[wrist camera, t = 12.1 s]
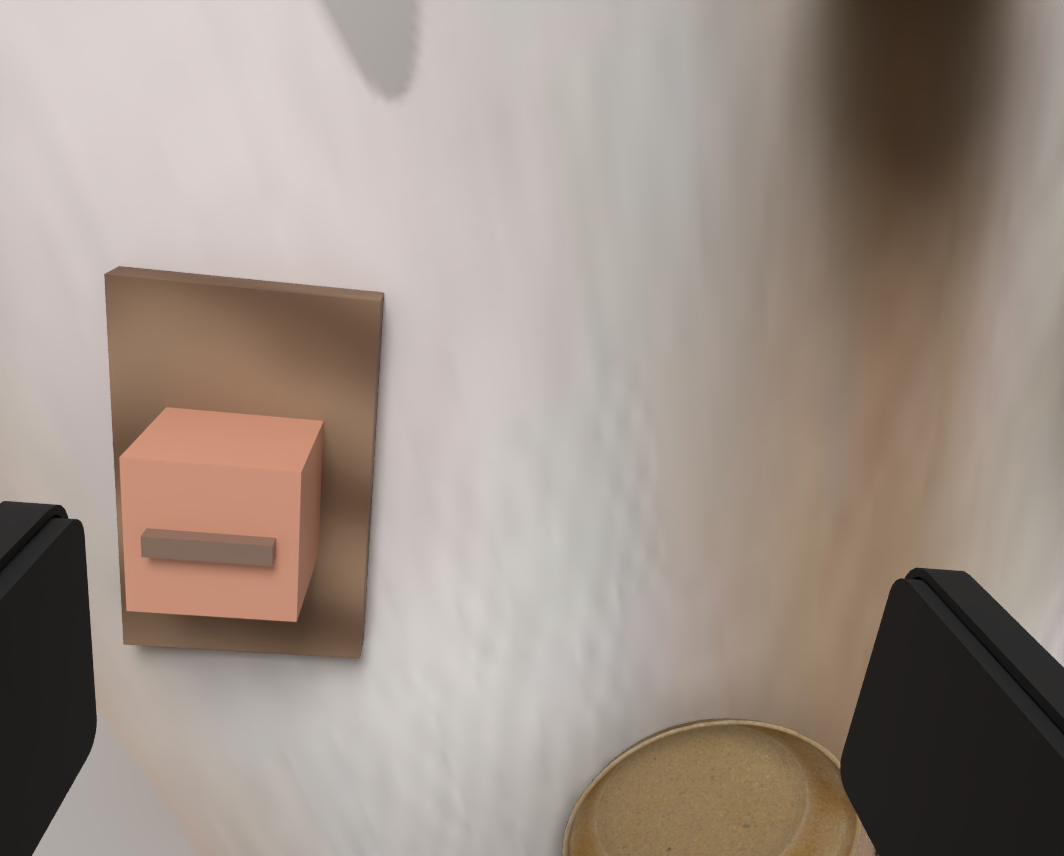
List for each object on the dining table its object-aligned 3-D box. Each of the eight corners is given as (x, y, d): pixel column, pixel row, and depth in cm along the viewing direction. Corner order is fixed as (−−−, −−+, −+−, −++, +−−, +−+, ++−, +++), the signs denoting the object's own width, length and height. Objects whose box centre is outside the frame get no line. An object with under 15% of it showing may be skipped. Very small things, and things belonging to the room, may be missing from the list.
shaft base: (363, 638, 41) (349, 710, 36) (135, 624, 40) (91, 696, 35) (383, 292, 35) (370, 324, 31) (119, 266, 34) (63, 295, 30)
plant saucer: (874, 695, 44) (898, 731, 42) (805, 917, 49) (822, 960, 47) (579, 675, 43) (586, 711, 40) (539, 907, 48) (543, 951, 45)
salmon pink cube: (318, 554, 38) (293, 631, 32) (169, 544, 37) (120, 620, 32) (323, 420, 35) (297, 479, 30) (166, 407, 35) (112, 464, 30)
